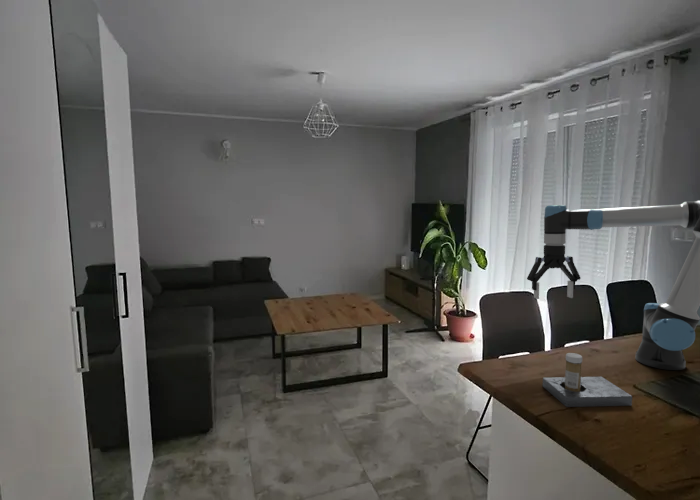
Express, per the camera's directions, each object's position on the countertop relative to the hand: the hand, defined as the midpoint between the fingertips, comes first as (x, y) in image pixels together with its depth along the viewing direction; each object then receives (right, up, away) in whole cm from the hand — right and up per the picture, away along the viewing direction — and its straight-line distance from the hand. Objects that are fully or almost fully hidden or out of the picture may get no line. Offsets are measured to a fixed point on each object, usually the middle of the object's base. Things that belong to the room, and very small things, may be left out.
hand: (553, 297), depth 155 cm
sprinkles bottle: (-10, -28, -30) cm, 42 cm away
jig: (-6, -27, -30) cm, 41 cm away
